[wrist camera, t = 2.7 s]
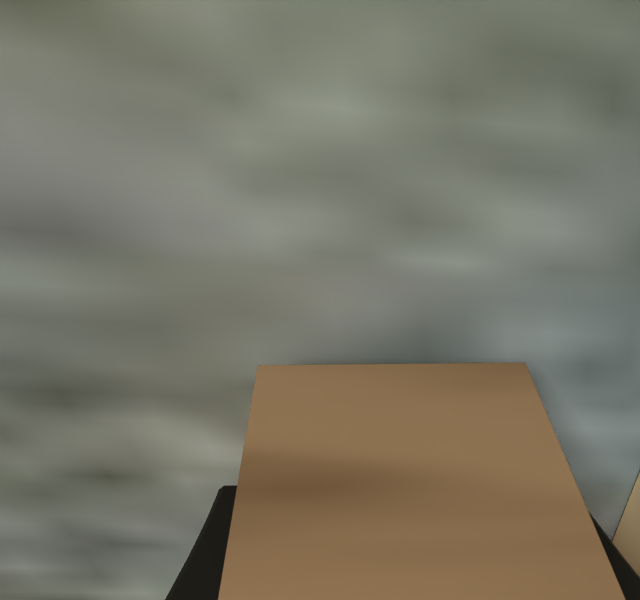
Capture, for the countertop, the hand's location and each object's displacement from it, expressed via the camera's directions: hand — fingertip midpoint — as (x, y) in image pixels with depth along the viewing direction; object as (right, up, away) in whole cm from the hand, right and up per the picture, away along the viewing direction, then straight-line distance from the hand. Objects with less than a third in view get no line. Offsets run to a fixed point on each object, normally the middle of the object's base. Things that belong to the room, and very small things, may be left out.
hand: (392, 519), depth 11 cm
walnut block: (0, +1, +1) cm, 2 cm away
